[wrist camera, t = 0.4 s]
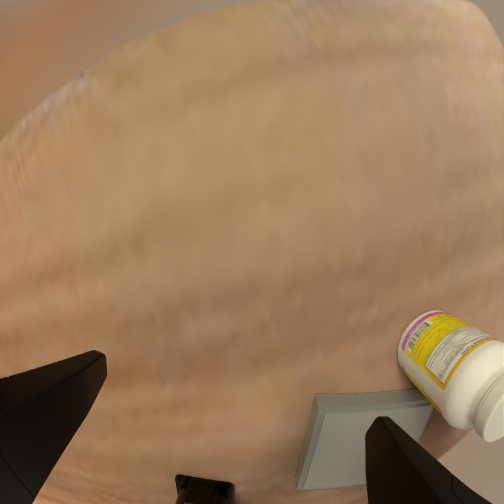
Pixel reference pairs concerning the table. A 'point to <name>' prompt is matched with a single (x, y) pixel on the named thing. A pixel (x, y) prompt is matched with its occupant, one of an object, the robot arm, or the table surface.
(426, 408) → the slate base
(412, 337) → the supplement bottle
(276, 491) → the table surface
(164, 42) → the table surface
